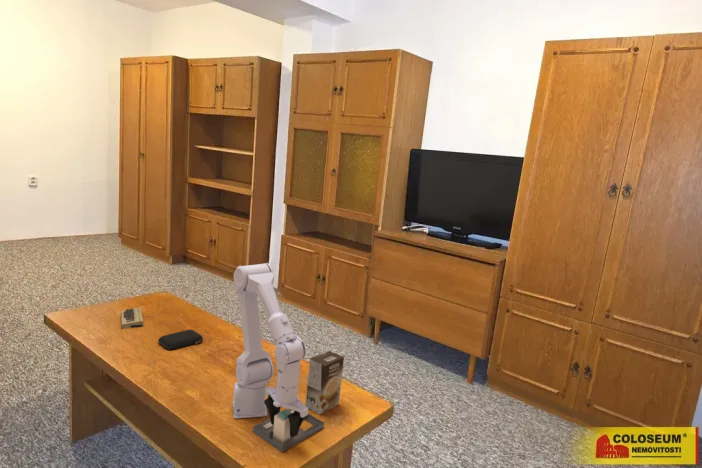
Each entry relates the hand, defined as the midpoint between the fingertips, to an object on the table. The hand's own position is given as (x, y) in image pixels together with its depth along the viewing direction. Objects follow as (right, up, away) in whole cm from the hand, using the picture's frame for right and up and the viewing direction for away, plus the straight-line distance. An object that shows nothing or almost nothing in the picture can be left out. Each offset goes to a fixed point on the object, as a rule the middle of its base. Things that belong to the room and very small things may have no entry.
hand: (284, 429), depth 126 cm
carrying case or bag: (-47, +11, +51) cm, 70 cm away
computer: (-73, +16, +67) cm, 100 cm away
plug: (0, -3, +1) cm, 3 cm away
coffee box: (+9, -1, +19) cm, 21 cm away
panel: (+1, -2, +5) cm, 5 cm away
